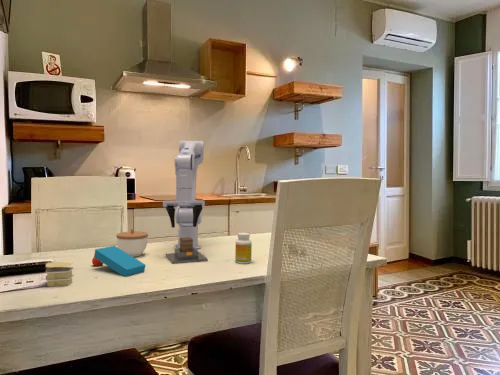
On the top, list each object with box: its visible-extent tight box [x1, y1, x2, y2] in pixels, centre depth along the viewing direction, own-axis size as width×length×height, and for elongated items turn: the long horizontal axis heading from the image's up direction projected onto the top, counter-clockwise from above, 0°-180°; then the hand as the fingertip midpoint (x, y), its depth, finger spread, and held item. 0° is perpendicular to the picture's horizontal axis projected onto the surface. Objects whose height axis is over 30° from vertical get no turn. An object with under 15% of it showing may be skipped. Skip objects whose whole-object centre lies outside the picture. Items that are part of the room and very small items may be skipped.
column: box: [180, 237, 193, 252], centre depth 139 cm, size 4×4×7 cm
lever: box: [91, 245, 146, 278], centre depth 124 cm, size 7×7×19 cm
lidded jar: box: [116, 228, 149, 258], centre depth 143 cm, size 11×11×9 cm
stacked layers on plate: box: [45, 261, 75, 287], centre depth 108 cm, size 10×9×6 cm
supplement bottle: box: [234, 232, 253, 265], centre depth 135 cm, size 5×5×10 cm
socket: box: [165, 247, 209, 265], centre depth 139 cm, size 12×12×3 cm
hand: (183, 226), depth 142 cm, fingers open, 7 cm apart
